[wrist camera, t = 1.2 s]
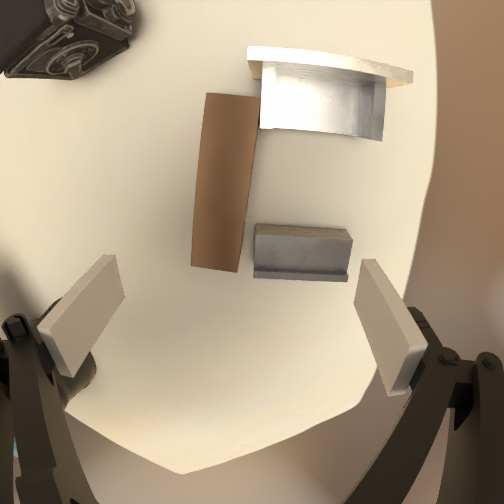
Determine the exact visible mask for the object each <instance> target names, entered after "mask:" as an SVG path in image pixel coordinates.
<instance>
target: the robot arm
mask: <svg viewBox="0 0 504 504" xmlns="http://www.w3.org/2000/svg"><path fill="white" fill-rule="evenodd" d="M124 298H125V297H124V292H123V288H122V284H121V280H120V276H119V271H118V267H117V262H116V257H115V255H103V256H102V257H101V258H100V259H99V260H98V261H97V262H96V263H95V264H94V265H93V266H92V267H91V268H90V269H89V270H88V271H87V272H86V273H85V274H84V275H83V276H82V277H81V278H80V279H79V280H78V282H77V283H76V284H75V285H74V286H73V287H72V288H71V289H70V290H69V291H68V292H67V293H66V294H65V295H64V297H61V298H60V299H58V300H57V301H55V302H54V303H53V304H52V305H51V306H50V307H49V308H48V310H47V311H46V312H45V313H44V315H42V316H41V317H40V319H36V320H34V321H33V322H32V323H31V324H30V325H29V323H28V321H27V319H26V317H25V315H23V314H14V315H12V316H10V317H8V318H7V319H6V320H5V321H4V322H3V324H2V328H3V330H4V332H5V334H6V336H7V338H8V340H1V338H0V504H14V498H13V455H14V456H16V457H18V458H19V463H20V468H21V474H22V475H21V477H17V478H16V480H15V482H16V488H17V492H18V496H19V500H20V504H99V503H98V502H97V500H96V499H95V497H94V495H93V493H92V491H91V489H90V486H89V484H88V482H87V479H86V477H85V474H84V472H83V469H82V467H81V464H80V461H79V459H78V456H77V453H76V451H75V448H74V445H73V442H72V439H71V435H70V432H69V429H68V426H67V423H66V419H65V415H64V410H65V408H66V406H67V404H68V402H69V401H70V400H71V399H72V398H73V397H74V396H75V395H76V394H78V393H79V392H80V391H81V390H82V389H83V388H85V387H87V386H88V385H89V384H90V382H91V381H92V379H93V377H94V375H95V372H96V366H95V362H94V360H93V357H92V355H91V354H90V352H89V351H90V350H91V348H92V346H93V345H94V343H95V342H96V340H97V339H98V337H99V335H100V334H101V332H102V331H103V329H104V328H105V326H106V325H107V323H108V322H109V320H110V319H111V317H112V315H113V314H114V312H115V311H116V310H117V308H118V307H119V305H120V304H121V302H122V301H123V299H124ZM354 306H355V308H356V311H357V313H358V316H359V318H360V321H361V323H362V326H363V328H364V331H365V334H366V336H367V339H368V342H369V344H370V347H371V350H372V352H373V355H374V358H375V361H376V363H377V366H378V369H379V372H380V375H381V378H382V380H383V383H384V386H385V389H386V392H387V395H388V396H394V395H401V394H405V392H406V390H407V388H408V386H409V384H410V387H411V389H412V394H411V396H410V397H409V399H408V401H407V403H406V405H405V406H404V409H403V411H402V412H401V414H400V416H399V418H398V420H397V422H396V424H395V425H394V427H393V428H392V430H391V432H390V434H389V435H388V437H387V438H386V440H385V442H384V443H383V445H382V447H381V448H380V450H379V451H378V453H377V455H376V456H375V457H374V459H373V461H372V462H371V463H370V465H369V466H368V468H367V469H366V471H365V472H364V473H363V475H362V476H361V478H360V479H359V480H358V482H357V483H356V485H355V486H354V487H353V489H352V490H351V491H350V492H349V494H348V495H347V496H346V498H345V499H344V500H343V501H342V503H341V504H401V503H402V502H403V500H404V499H405V497H406V495H407V493H408V492H409V490H410V488H411V486H412V485H413V483H414V481H415V479H416V477H417V475H418V473H419V471H420V469H421V467H422V465H423V463H424V461H425V459H426V457H427V455H428V453H429V451H430V448H431V446H432V444H433V442H434V440H435V437H436V435H437V432H438V430H439V428H440V425H441V422H442V420H443V417H444V415H445V412H446V409H447V408H450V422H449V433H448V442H447V449H446V457H445V463H444V470H443V475H442V480H441V485H440V490H439V495H438V499H437V503H436V504H504V370H503V365H502V363H501V360H500V359H499V358H498V357H497V356H496V355H494V354H492V353H489V352H482V353H480V354H479V355H478V356H477V358H476V360H475V361H469V360H461V359H460V357H459V355H458V354H457V353H456V352H455V351H454V350H452V349H450V348H446V347H443V346H442V344H441V342H440V341H439V339H438V337H437V336H436V334H435V333H434V331H433V329H432V328H431V327H430V325H429V323H428V322H427V320H426V319H425V317H424V315H423V314H422V313H421V312H420V311H419V310H418V309H416V308H415V307H406V306H405V304H404V303H403V301H402V299H401V298H400V296H399V295H398V293H397V291H396V290H395V288H394V287H393V285H392V284H391V282H390V280H389V279H388V277H387V276H386V274H385V273H384V271H383V270H382V268H381V267H380V265H379V264H378V262H377V261H376V259H362V261H361V267H360V273H359V279H358V284H357V289H356V295H355V300H354Z"/></svg>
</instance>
